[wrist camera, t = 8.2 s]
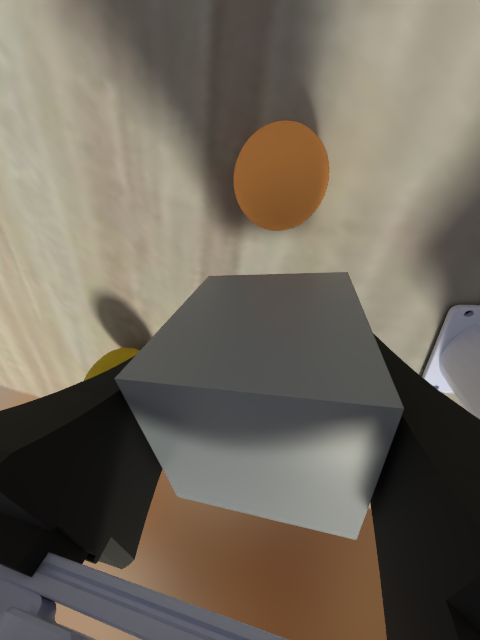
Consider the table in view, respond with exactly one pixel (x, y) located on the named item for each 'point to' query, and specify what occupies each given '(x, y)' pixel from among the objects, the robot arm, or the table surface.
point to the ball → (281, 175)
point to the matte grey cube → (269, 399)
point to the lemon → (111, 361)
